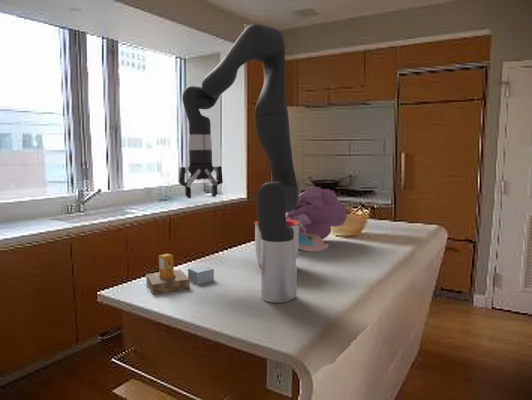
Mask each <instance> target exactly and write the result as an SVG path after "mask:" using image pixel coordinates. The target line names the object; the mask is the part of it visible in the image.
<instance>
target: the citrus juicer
mask: <svg viewBox="0 0 532 400" xmlns="http://www.w3.org/2000/svg"><path fill="white" fill-rule="evenodd" d="M253 224H254V230H255V231H254V235H255V237H254V239H255V240H254V242H255V243H254V245H255V246H254V247H255V256H256V259H257V263H258V266H259V269H260V270H261V233H260V230H259V227H258V220H255V221H254V222H253ZM286 224H287V225H288V226H289V227H292V228H293V230H294V264H295V265H296V263H297V262H296V261H297V259H298V253H299V249H298V224H299V222H298V221H296V220H292V219H286Z"/></svg>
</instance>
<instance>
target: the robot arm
mask: <svg viewBox="0 0 532 400" xmlns="http://www.w3.org/2000/svg"><path fill="white" fill-rule="evenodd" d="M283 36H284V35H283V34H282V33H281V31H280V30H278V28H275V27H271V26H267V25H264V24H260V23H253V24H250V25H248V26H247V27H246V28H244V30H243V31H241V33H240V35H239V36H238V38H237V39H236V40H235V41H234V43H233V44H232V46H231V47H230V49H229V50H228V51H227V52H226V54H225V56H224V57H223V59H222V60H221V61H220V62H219V63H218V64H217V65H216V66H215V67H214V68H213V69H212V70H211V71H209V73H208V74H206V75H205V77H204V78H203V79H202V81H201V86H197V85H189V86H187V87H185V88H184V90H183V93H182V103H183V107H184V110H185V114H186V117H187V120H188V158H189V159H188V162H189V165H188V167H187V166H186V167H185V166H180V167H179V177H178V178H179V179H178V180H179V182H178V184H179V185H180V186H184V190H185V191H184V192H185V197H187V199H191V198H192V191H191V190H192V189H191V185H192V184H193V183H194V182H195V181H196V180H198V181H199V180H208V181H209V182H210V183H211V184H212V185H211V197H212V198H216V196H218V186H219V185H220V184H221V185H222V184H223V181H224V180H223V167H222V166H220V165H216V166H213V149H212V148H213V147H212V145H213V141H212V135H211V132H212V129H211V119H210V118H209V117H208V116H205V115H202V113H201V111H200V110H209V109H212V108H213V107H214V106H215V105H216V104H217V102H218V100H219V98H220V97H221V95H222V94H223V93H224V92H225V91H227V90H229V88H230V87H231V86H232V85H233V84H234V83H235V81H236V78H237V76H238V70H239V69H240V67H242V66H243V65H244V64H247V63H248V62H250V61H254V62H261V64H262V68H263V86H262V88H261V91H260V94H259V97H258V99H257V101H256V104H255V108H254V120H255V121H254V122H255V123H254V124H255V132H256V136H257V139H258V142H259V144H260V146H261V148H262V150H263V152H264V154H265V156H266V158H267V159H268V163H269V166H270V167H269V168H270V172H271V181H269V182H265V183H263V184H262V185H261V186H260V187H259V189H258V191H257V194H256V195H257V196H256V216H257V217H256V218H257V221H258V227H259V230H260V233H261V269H260V270H261V271H260V274H261V275H260V281H261V283H260V284H261V286H260V287H261V288H260V292H261V293H260V294H261V299H262V301H265V302H266V303H267V302H268V303H273V304H282V303H283V304H284V303H287V302H290V301H293V299H297V293H298V292H297V288H298V287H297V281H298V280H297V277H298V276H297V268H298V267H297V265H296V264H294V230H293V228H292V227H289V226H288V225H287V224H286V213H287V212H290V211H292V210H294V209H295V207H296V206H297V204H298V200H299V194H300V193H299V186H298V183H297V182H298V181H297V177H296V173H295V172H296V171H295V168H294V162H293V153H292V144H291V135H290V133H291V132H290V120H289V112H288V103H287V90H286V76H285V75H286V68H285V67H286V61H285V59H286V56H285V55H286V54H285V53H286V51H285V49H286V48H285V39H284V37H283ZM213 171H214V173H216V179H215V177H214V175H212V173H213ZM188 172H189V174H190V175H189V176H188V178H187V180H186V174H187V173H188Z"/></svg>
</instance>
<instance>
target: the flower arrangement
mask: <svg viewBox="0 0 532 400" xmlns="http://www.w3.org/2000/svg"><path fill="white" fill-rule="evenodd" d="M347 216H348V214H347V211H346V208H345V206H344V205H343V204H342V202H340V201H338V196H337V194H336V193H335V192H334V190H331V189H328V188H321V187H319V186H312V187H310V188H308V189H306V190H305V191H303V192H301V193H299V200H298V204H297V206H296V207H295V209H294V210H292V211H290V212H287V213H286V219H292V220H296V221H298V222H299V224H298V250H301V251H305V252H306V251H307V252H319V251H323V250H326V249H328V247H329V244H328V242H325V241H324V239H326V238H327V237H328V236H330V234H331V232H332V227H338V226H339V227H340V226H342V225H344V224H345V222H346V220H347Z"/></svg>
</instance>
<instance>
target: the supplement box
mask: <svg viewBox="0 0 532 400" xmlns="http://www.w3.org/2000/svg"><path fill="white" fill-rule="evenodd" d="M174 267H175V266H174V255H173V254H170V253H164V254H160V255H158V268H159V270H158V271H159V272H160V278H161V280H164V279H171V278H174Z"/></svg>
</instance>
